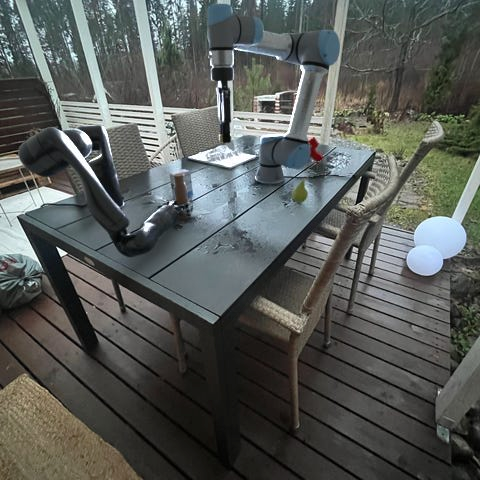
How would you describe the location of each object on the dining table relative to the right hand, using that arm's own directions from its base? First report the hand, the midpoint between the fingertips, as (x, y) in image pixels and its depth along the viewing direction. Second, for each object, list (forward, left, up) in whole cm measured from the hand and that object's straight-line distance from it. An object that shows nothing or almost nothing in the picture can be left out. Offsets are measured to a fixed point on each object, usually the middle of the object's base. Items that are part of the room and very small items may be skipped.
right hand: (225, 140), depth 101 cm
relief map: (+30, -69, -28) cm, 80 cm away
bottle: (+14, +12, -28) cm, 34 cm away
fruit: (-28, -16, -28) cm, 43 cm away
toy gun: (-23, -78, -28) cm, 86 cm away
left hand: (+15, +10, -22) cm, 28 cm away
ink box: (+25, -6, -28) cm, 38 cm away
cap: (0, 0, +2) cm, 2 cm away
